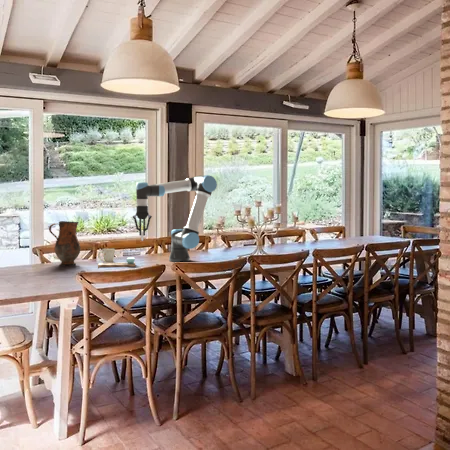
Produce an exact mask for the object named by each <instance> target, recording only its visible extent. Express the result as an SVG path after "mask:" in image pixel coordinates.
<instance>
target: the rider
mask: <svg viewBox="0 0 450 450" xmlns="http://www.w3.org/2000/svg"><path fill="white" fill-rule="evenodd" d="M134 262H135V257H127V258H126V263H128V264H134Z"/></svg>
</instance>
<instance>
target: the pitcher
mask: <svg viewBox="0 0 450 450" xmlns="http://www.w3.org/2000/svg"><path fill="white" fill-rule="evenodd" d="M78 224H79V222H78V221H66V220H64V221H63V220H61V221H58V227H59V228H58V229H59V231H58V235H56V234H55V233H53V232H52V228H53V226H55V225H56V223H51V224H50V226H49V227H48V231H49V233H50V234H51V235H52V236H53V237H55V239H56V241H55V243H54V254H55V255H56V257H57V259H58V260H60V261H61V263H59V266H60V267H71V266H76V265H77V263H76V262H75V260H76V259H78V257H79V255H80V253H81V244H80V241H79V239H78V235H77V228H78Z"/></svg>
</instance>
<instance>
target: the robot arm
mask: <svg viewBox="0 0 450 450" xmlns="http://www.w3.org/2000/svg"><path fill="white" fill-rule="evenodd" d="M217 186H218V183H217V180H216V178H215V177H214V176H212V175H209V174H206V175H197V176H191V177H187V178H186V179H183V180H176V181H169V182H162V183H155V184H154V183H153V184H149V183H148V182H146V181H145V182H143V181H141V182H140V181H139V182H136V186H135V187H136V188H135V190H136V191H135V193H136V195H135V196H136V199H135V200H136V202H135V204H136V207H135V208H136V213H135V214H134V215H132V218H133V221H134V223H135V224H134V225H135V227H136V228H135V229H136V230H137V231H138V233H139V237H140V239H141V241H142V242H143V241H144V236H146V231H147V230H149V227H150V222H151V219H152V217H153V216H152V215H150V214H149V206H148V205H149V201H148V200H149V197H159V198H160V197H164V196H165V194H171V193H177V192H179V193H180V192H186V191H187V192H195V194H196V195H195V198H194V200H193V204H192V207H191V209H190V210H191V211H190V213H189V216H188V219H187V222H186V225H185V226H183V228H179V229H172V230H171V233H170V234H171V235H170V237H171V238H170V239H171V244H170V245H171V246H170V247H171V251H170V254H169V257H168V260H169V262H174V263H181V262H180V261H183V263H185V262H189V261H191V258H190V253H189V251H188V249H189V250H190V249H191V250H192V249H195V248H196V247H198V245H199V243H200V236H199V234H200V231H199V227H200V224H201V222H202V221H201V220H202V218H203V214H204V211H205V208H206V205H207V202H208V199H209V198H210V197H211V196H212V194H213V192H214V191H215V190H216V189H217ZM137 218H138V219H139V220H138V221H139V222H137ZM147 218H148V220H147V224H146V219H147ZM138 223H139V224H138ZM142 224H143V225H142ZM142 229H143V230H142Z"/></svg>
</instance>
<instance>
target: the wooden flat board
mask: <svg viewBox="0 0 450 450" xmlns="http://www.w3.org/2000/svg"><path fill="white" fill-rule="evenodd" d="M122 267H123V268H124V267H125V268H127V267H129V268H130V267H132V268H133V267H136V262H135V261H134V264H128V262H111V263H105V262H99V263H97V269H100V268H122Z"/></svg>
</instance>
